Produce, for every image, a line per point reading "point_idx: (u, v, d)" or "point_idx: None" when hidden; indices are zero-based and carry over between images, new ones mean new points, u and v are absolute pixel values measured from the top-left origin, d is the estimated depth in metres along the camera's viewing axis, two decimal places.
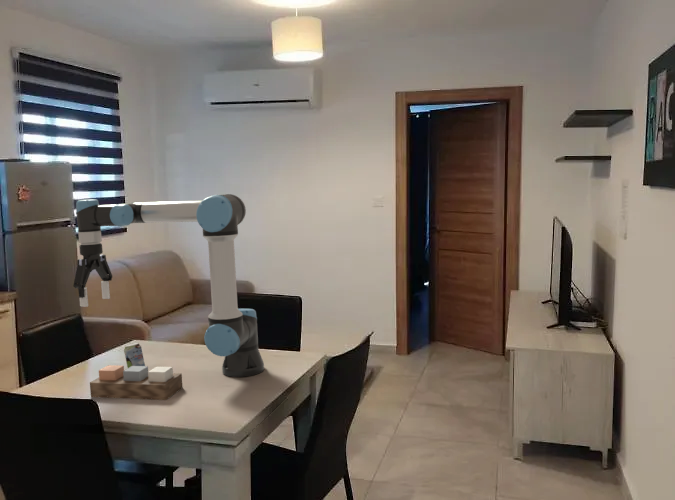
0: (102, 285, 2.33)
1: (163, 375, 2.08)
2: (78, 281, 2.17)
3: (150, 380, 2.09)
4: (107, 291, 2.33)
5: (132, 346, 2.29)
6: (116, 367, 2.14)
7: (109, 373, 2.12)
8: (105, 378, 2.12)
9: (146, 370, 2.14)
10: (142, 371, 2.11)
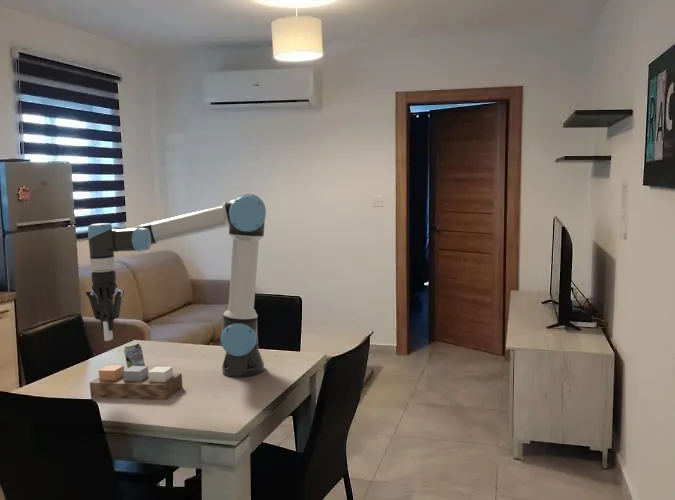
0: None
1: (163, 375, 2.08)
2: None
3: (150, 380, 2.09)
4: None
5: (132, 346, 2.29)
6: (116, 367, 2.14)
7: (109, 373, 2.12)
8: (105, 378, 2.12)
9: (146, 370, 2.14)
10: (142, 371, 2.11)
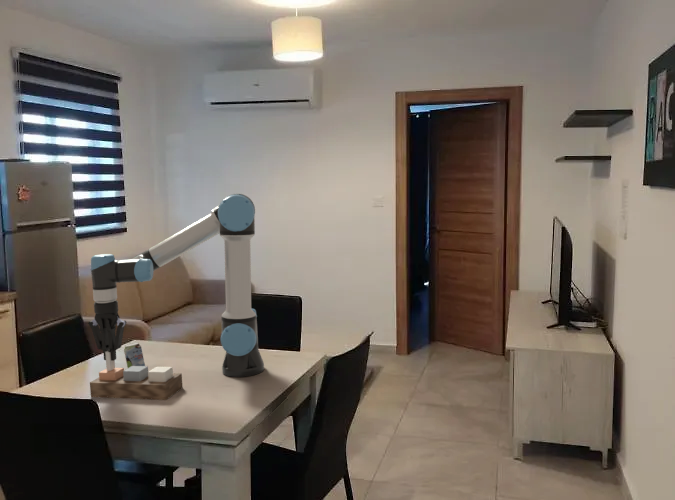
0: None
1: (163, 375, 2.08)
2: None
3: (150, 380, 2.09)
4: None
5: (132, 346, 2.29)
6: (116, 370, 2.15)
7: (109, 375, 2.12)
8: None
9: (146, 370, 2.14)
10: (142, 371, 2.11)
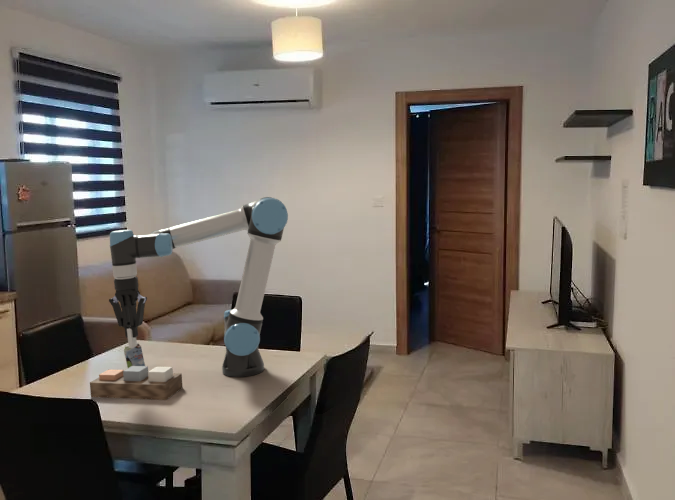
0: None
1: (163, 375, 2.08)
2: None
3: (150, 380, 2.09)
4: None
5: None
6: (117, 372, 2.15)
7: (109, 377, 2.12)
8: None
9: (146, 370, 2.14)
10: (142, 371, 2.11)
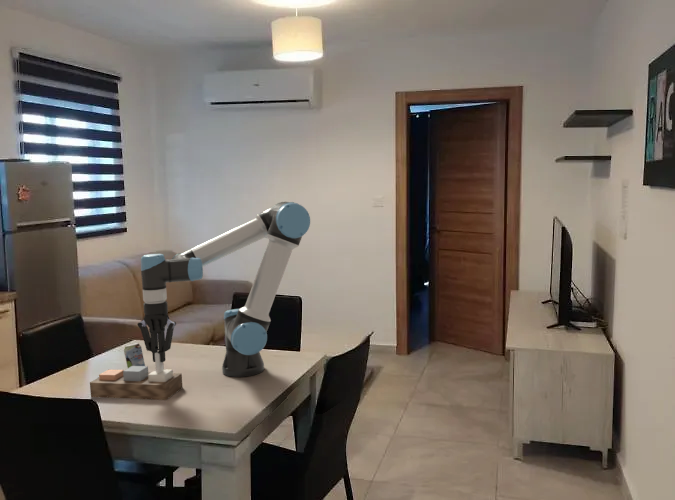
0: None
1: (163, 378, 2.08)
2: None
3: None
4: None
5: (132, 346, 2.29)
6: (117, 372, 2.15)
7: (109, 377, 2.12)
8: None
9: (146, 370, 2.14)
10: (142, 371, 2.11)
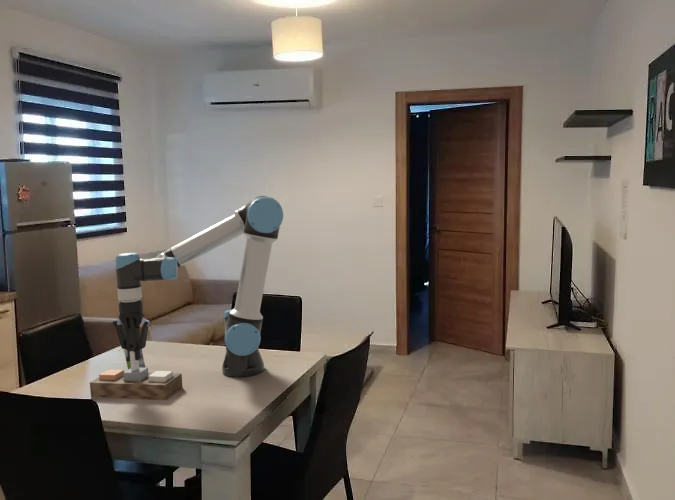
0: None
1: (164, 380, 2.08)
2: None
3: None
4: None
5: None
6: (117, 372, 2.15)
7: (109, 377, 2.12)
8: None
9: (146, 371, 2.14)
10: (142, 372, 2.11)
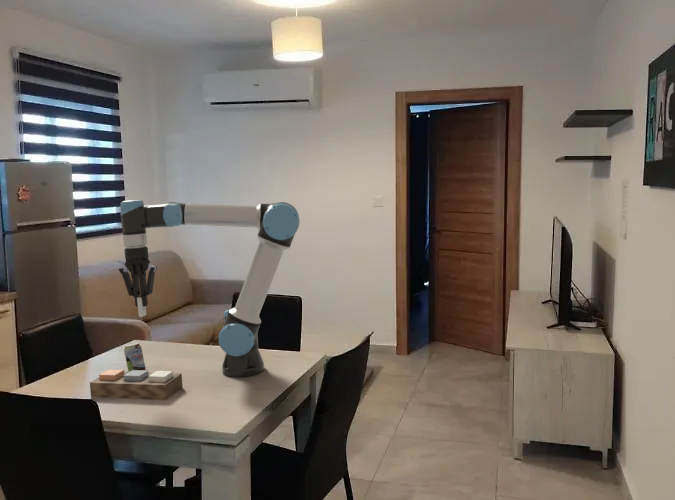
0: None
1: (164, 380, 2.08)
2: None
3: None
4: None
5: (132, 346, 2.29)
6: (117, 372, 2.15)
7: (109, 377, 2.12)
8: None
9: (146, 374, 2.14)
10: (142, 375, 2.12)
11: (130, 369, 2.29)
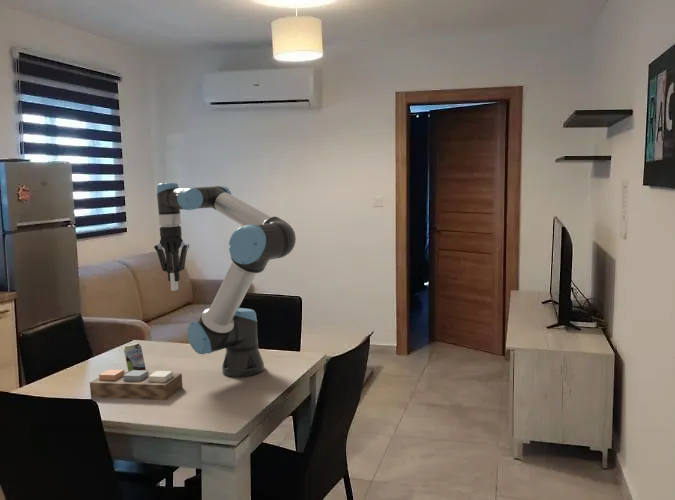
0: None
1: (164, 380, 2.08)
2: None
3: None
4: None
5: (132, 346, 2.29)
6: (117, 372, 2.15)
7: (109, 377, 2.12)
8: None
9: (146, 374, 2.14)
10: (142, 375, 2.12)
11: (130, 369, 2.29)
